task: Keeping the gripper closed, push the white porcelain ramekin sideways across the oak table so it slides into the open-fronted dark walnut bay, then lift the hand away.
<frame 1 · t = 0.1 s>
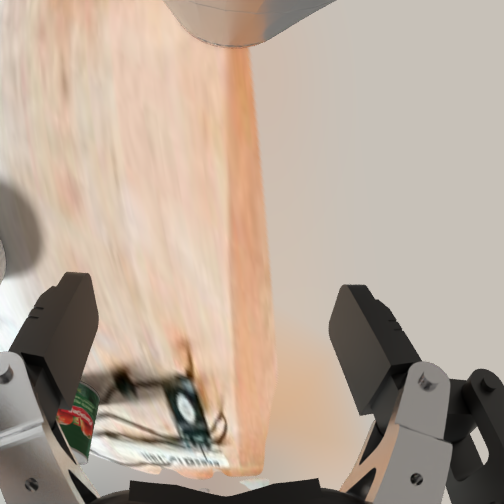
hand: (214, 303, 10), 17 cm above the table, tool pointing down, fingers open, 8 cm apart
canned tomato: (76, 390, 39), on the table
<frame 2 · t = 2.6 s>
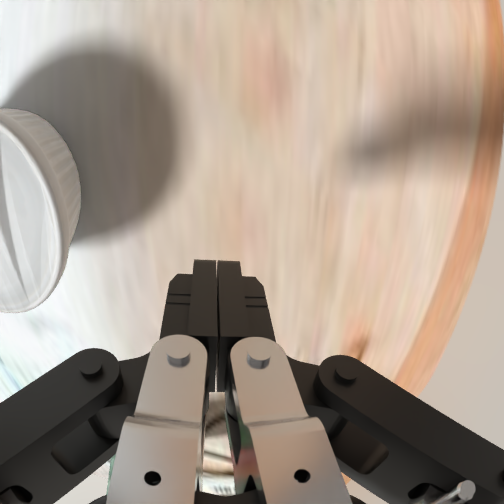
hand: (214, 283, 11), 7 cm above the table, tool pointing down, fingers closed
ramekin: (21, 184, 15), on the table
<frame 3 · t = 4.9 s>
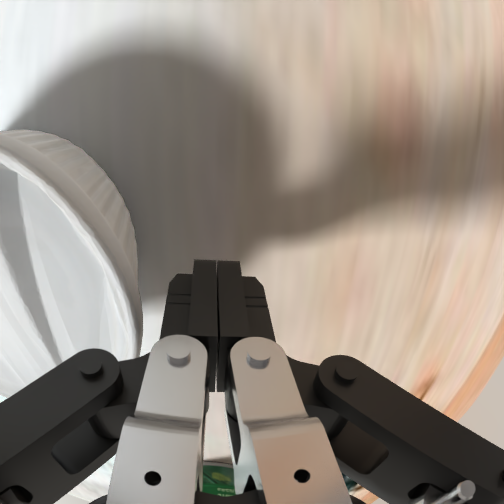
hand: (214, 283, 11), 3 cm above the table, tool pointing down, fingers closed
ramekin: (43, 234, 12), on the table, touching gripper
canned tomato: (203, 473, 25), on the table
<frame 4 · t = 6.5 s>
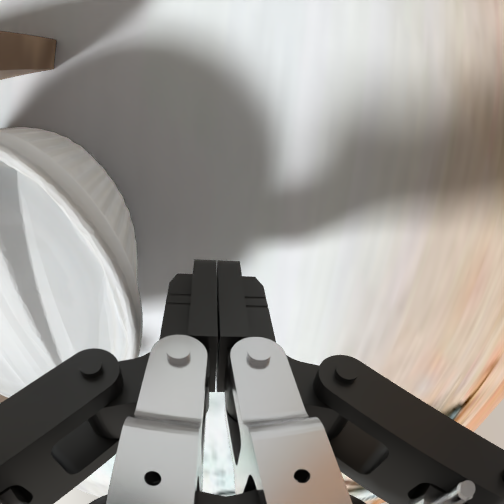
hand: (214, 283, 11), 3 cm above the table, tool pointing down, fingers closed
ramekin: (42, 232, 12), on the table, touching gripper
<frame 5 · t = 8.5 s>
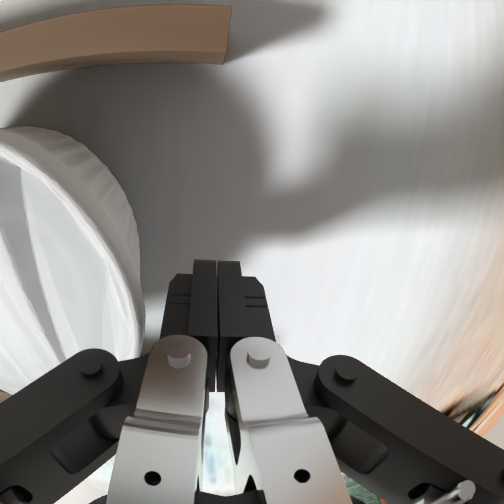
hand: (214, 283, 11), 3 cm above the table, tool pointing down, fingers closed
ramekin: (46, 230, 12), on the table
walnut bay: (51, 236, 12), on the table
canned tomato: (356, 457, 28), on the table
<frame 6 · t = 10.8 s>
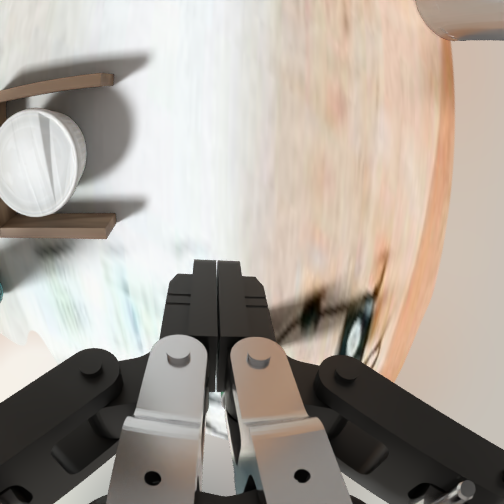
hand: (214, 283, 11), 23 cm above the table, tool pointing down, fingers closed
ramekin: (52, 152, 29), on the table
walnut bay: (55, 154, 29), on the table
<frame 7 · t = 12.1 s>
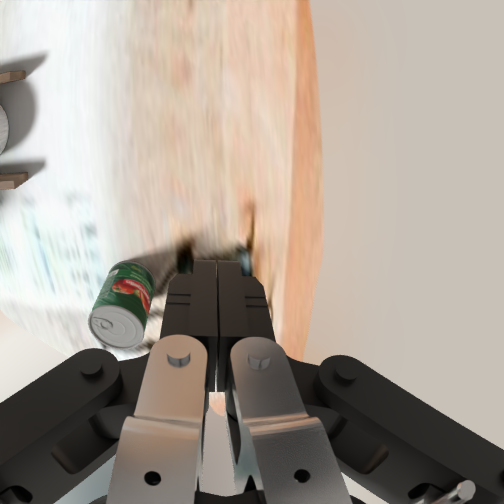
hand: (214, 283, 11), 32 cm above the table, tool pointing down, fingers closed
canned tomato: (131, 281, 48), on the table
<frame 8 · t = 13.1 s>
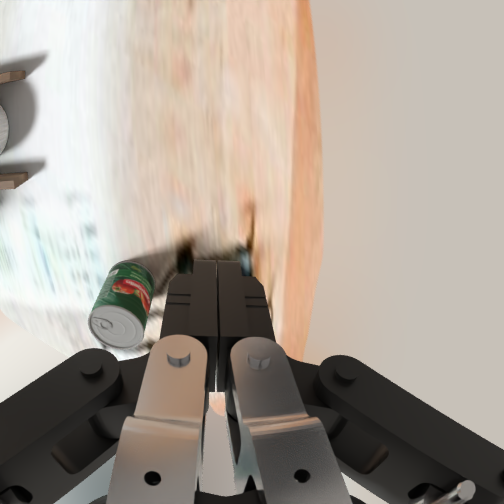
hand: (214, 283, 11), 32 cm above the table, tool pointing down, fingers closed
canned tomato: (131, 281, 48), on the table
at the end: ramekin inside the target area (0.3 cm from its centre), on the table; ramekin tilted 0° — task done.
